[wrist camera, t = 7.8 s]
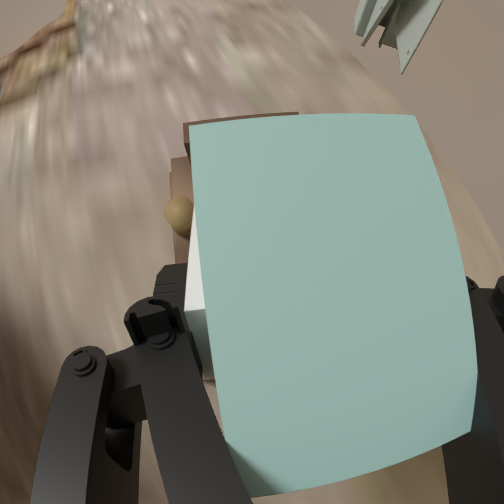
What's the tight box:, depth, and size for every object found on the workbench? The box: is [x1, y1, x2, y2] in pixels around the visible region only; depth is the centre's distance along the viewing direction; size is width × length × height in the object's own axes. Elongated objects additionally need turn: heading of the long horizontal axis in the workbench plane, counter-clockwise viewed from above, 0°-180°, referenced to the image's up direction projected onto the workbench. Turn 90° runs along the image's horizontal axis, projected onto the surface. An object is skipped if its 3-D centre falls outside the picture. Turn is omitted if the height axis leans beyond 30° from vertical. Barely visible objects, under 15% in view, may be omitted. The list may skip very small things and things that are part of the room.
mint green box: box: [189, 113, 478, 498], centre depth 11 cm, size 7×5×11 cm
